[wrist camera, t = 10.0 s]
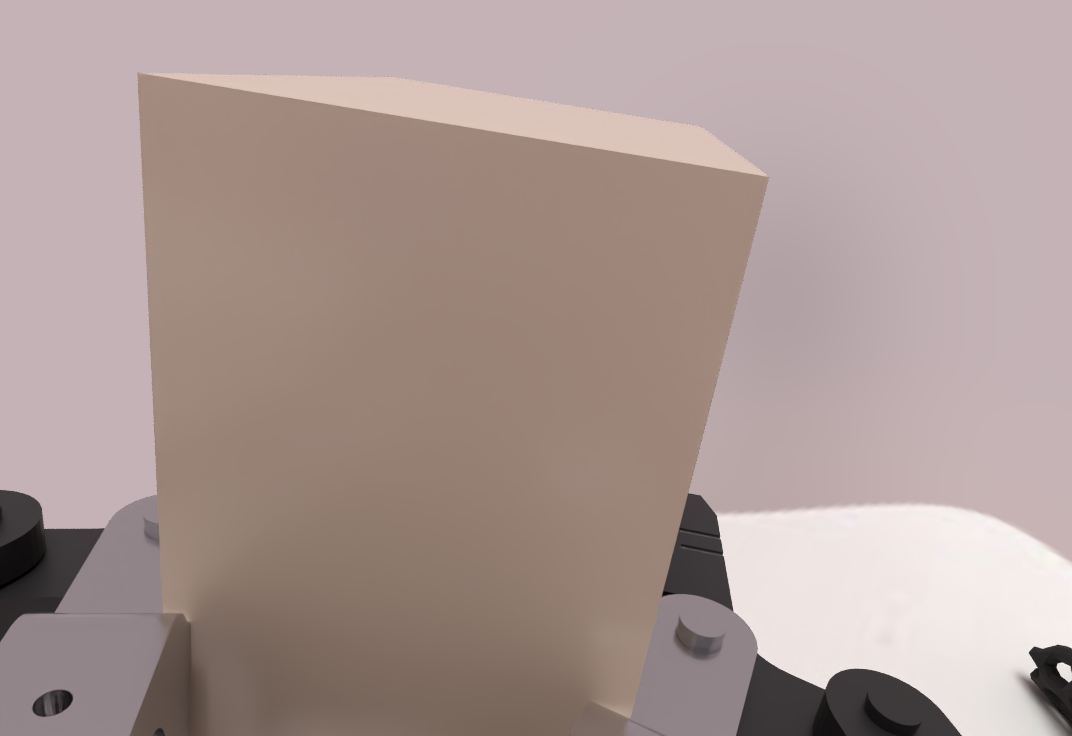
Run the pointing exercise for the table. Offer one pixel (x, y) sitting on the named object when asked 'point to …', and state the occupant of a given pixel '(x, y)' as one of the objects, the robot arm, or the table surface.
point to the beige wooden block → (425, 394)
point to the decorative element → (1053, 676)
